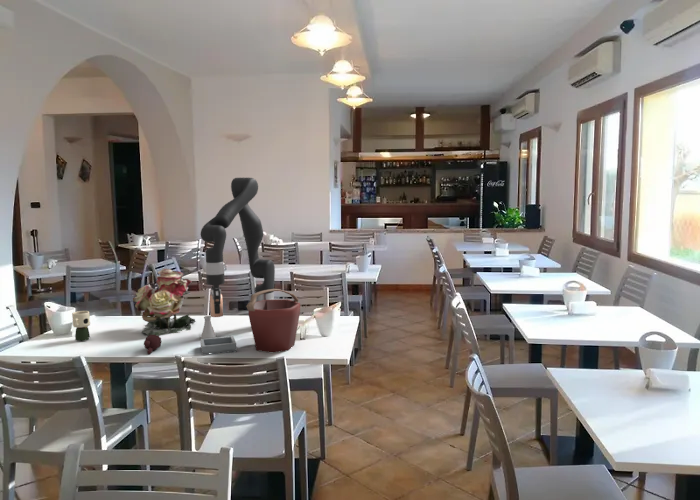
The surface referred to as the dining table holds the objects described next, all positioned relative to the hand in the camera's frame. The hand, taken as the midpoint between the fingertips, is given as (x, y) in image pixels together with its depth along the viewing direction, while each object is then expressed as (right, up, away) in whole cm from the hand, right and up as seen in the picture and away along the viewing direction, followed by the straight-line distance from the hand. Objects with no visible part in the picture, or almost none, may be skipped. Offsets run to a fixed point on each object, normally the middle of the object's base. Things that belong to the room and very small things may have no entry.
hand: (216, 311), depth 243 cm
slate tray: (0, -16, +2) cm, 16 cm away
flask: (-9, -14, +20) cm, 26 cm away
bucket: (+23, -16, +5) cm, 29 cm away
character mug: (-66, -15, +19) cm, 70 cm away
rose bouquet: (-33, -13, +36) cm, 51 cm away
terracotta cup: (0, -2, 0) cm, 2 cm away
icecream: (-28, -17, +3) cm, 33 cm away
